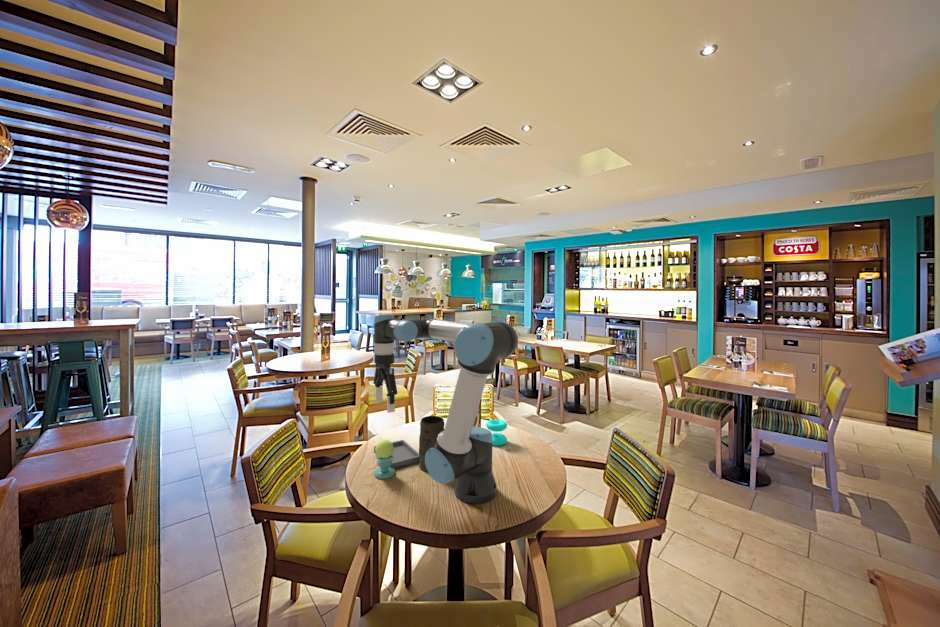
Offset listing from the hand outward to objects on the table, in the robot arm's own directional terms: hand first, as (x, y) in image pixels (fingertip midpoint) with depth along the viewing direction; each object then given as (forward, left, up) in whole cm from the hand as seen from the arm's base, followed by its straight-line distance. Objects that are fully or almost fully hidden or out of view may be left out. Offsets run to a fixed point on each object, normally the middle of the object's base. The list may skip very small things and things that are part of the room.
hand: (384, 407), depth 143 cm
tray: (+12, -10, -27) cm, 30 cm away
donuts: (+1, -56, -27) cm, 62 cm away
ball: (0, 0, -17) cm, 17 cm away
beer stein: (-6, -20, -27) cm, 34 cm away
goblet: (0, 0, -27) cm, 27 cm away
